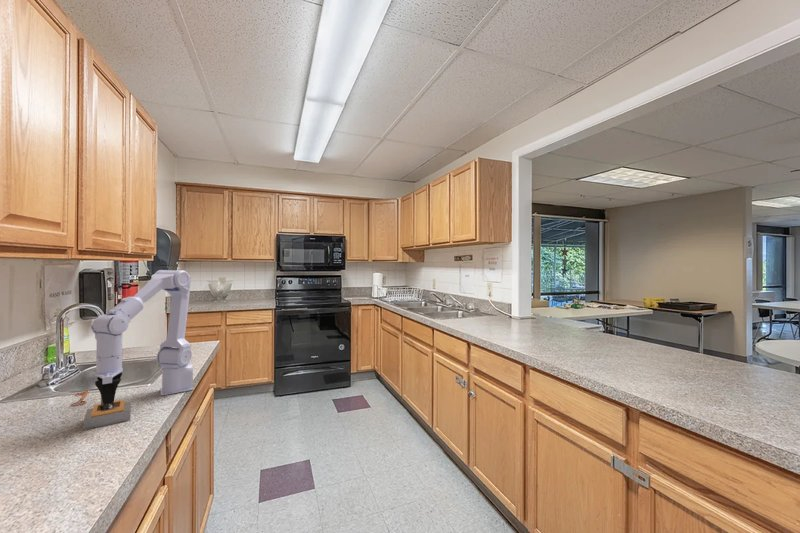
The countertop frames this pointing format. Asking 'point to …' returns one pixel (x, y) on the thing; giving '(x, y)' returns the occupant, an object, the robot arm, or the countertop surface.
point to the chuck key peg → (106, 406)
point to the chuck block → (107, 415)
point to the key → (81, 398)
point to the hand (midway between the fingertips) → (108, 401)
